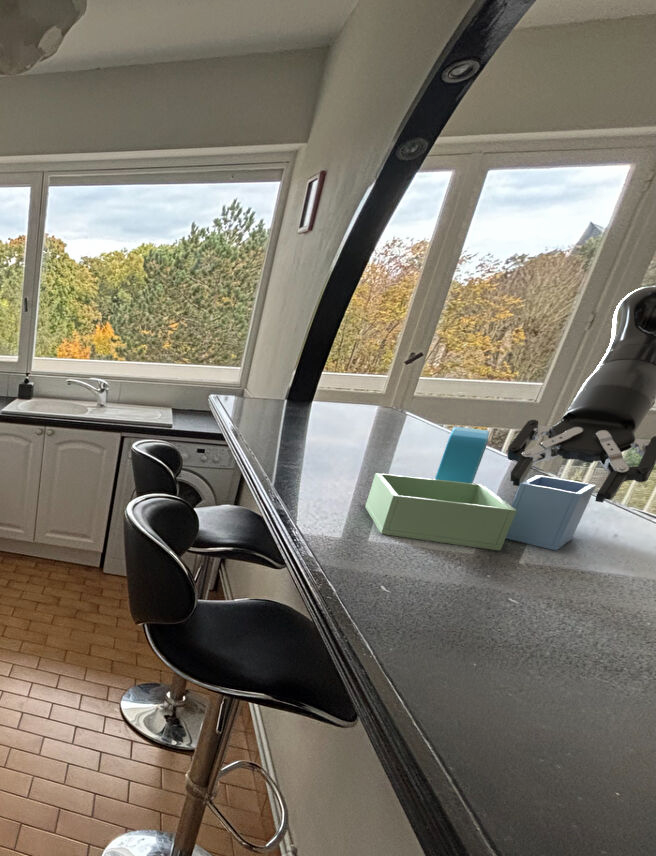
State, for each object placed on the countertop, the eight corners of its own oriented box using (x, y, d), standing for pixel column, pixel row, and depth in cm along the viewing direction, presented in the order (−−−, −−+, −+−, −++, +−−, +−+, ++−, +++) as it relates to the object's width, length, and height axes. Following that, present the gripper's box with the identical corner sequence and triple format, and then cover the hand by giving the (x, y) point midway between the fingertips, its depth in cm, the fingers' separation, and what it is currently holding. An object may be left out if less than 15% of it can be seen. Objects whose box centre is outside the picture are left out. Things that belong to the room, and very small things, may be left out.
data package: (430, 493, 103) (454, 425, 99) (463, 499, 100) (489, 429, 96) (424, 509, 95) (449, 435, 90) (460, 516, 92) (488, 440, 88)
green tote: (469, 520, 90) (482, 484, 88) (500, 551, 79) (517, 510, 77) (365, 507, 96) (375, 472, 93) (380, 534, 84) (393, 495, 82)
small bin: (571, 538, 84) (596, 484, 81) (556, 550, 79) (581, 494, 76) (516, 526, 88) (537, 474, 85) (498, 536, 84) (520, 483, 81)
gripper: (547, 377, 87) (491, 463, 85) (696, 389, 76) (636, 488, 74) (543, 410, 91) (490, 492, 90) (683, 426, 81) (626, 520, 79)
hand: (556, 490), depth 82 cm, fingers open, 8 cm apart
